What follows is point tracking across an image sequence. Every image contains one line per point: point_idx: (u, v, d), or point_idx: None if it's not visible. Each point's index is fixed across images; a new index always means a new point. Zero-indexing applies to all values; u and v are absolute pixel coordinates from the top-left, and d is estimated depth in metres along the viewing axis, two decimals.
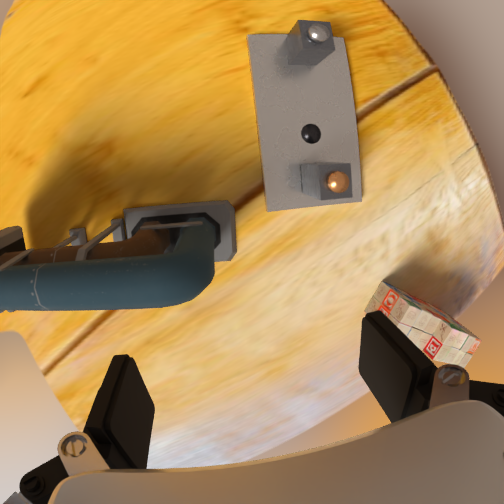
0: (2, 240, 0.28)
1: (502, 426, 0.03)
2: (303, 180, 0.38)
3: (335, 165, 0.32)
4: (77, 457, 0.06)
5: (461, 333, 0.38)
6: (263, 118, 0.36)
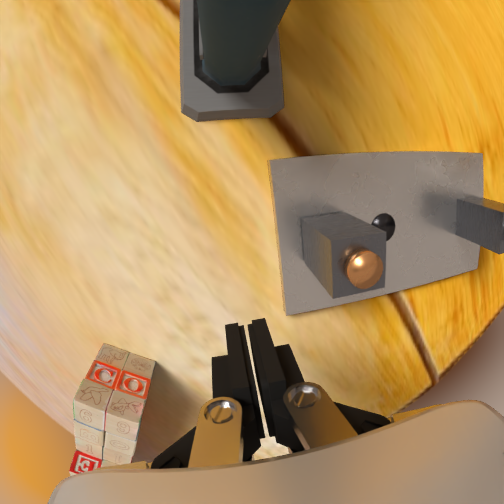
0: None
1: (502, 426, 0.03)
2: (324, 216, 0.24)
3: (383, 262, 0.19)
4: (215, 424, 0.07)
5: None
6: (401, 159, 0.24)
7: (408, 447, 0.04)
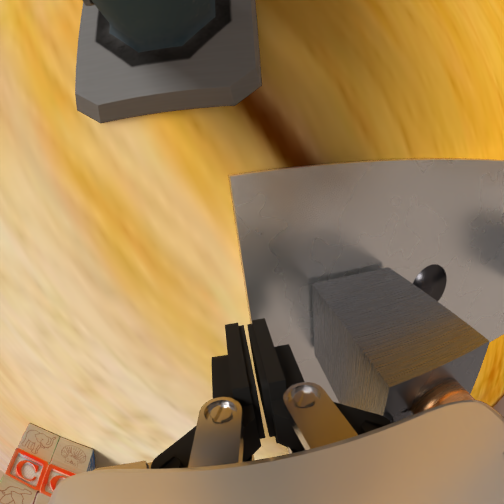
0: None
1: (502, 426, 0.03)
2: (353, 279, 0.13)
3: (469, 389, 0.07)
4: (215, 424, 0.07)
5: None
6: (463, 173, 0.13)
7: (408, 447, 0.04)
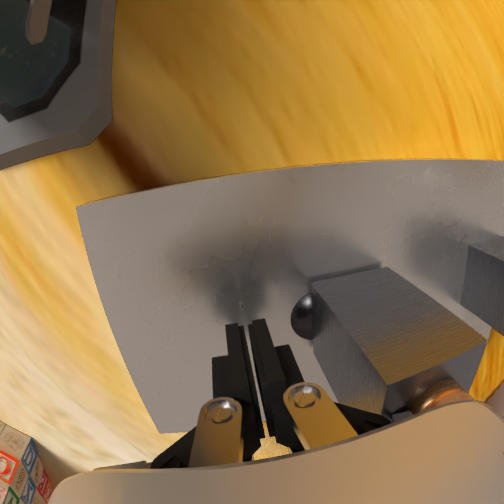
0: None
1: (502, 426, 0.03)
2: (352, 279, 0.13)
3: (467, 388, 0.07)
4: (216, 424, 0.07)
5: None
6: (361, 179, 0.12)
7: (408, 447, 0.04)
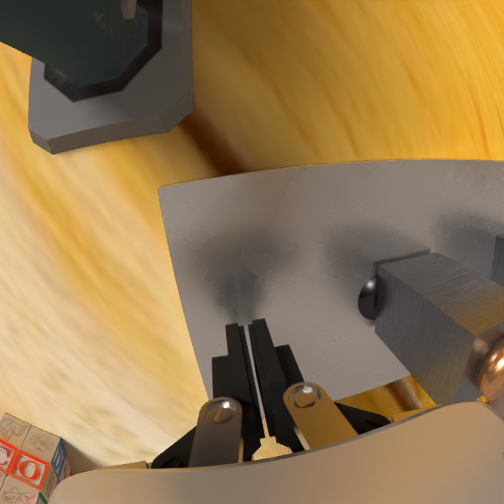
0: None
1: (502, 426, 0.03)
2: (413, 261, 0.14)
3: None
4: (215, 424, 0.07)
5: None
6: (419, 174, 0.13)
7: (408, 447, 0.04)
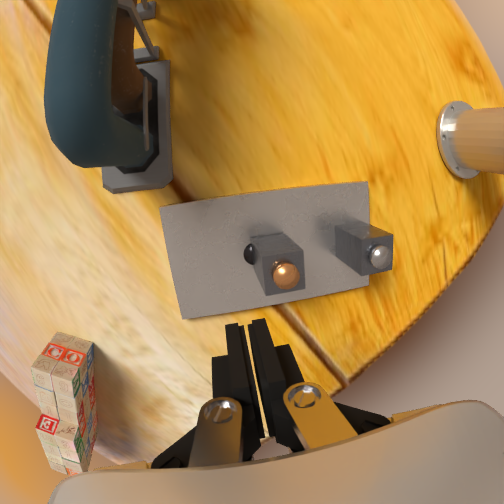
0: None
1: (502, 426, 0.03)
2: (267, 237, 0.34)
3: (303, 271, 0.29)
4: (216, 424, 0.07)
5: (76, 453, 0.28)
6: (270, 197, 0.33)
7: (408, 447, 0.04)
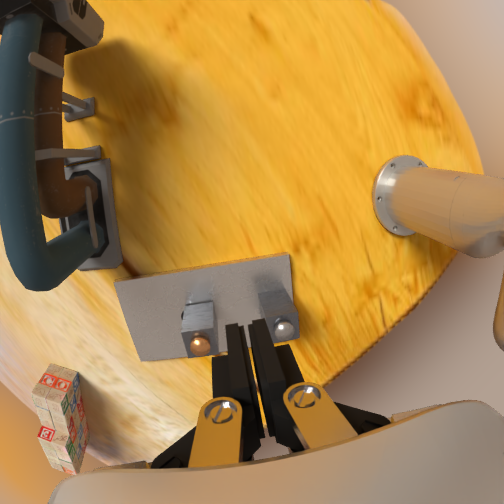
0: (79, 32, 0.22)
1: (502, 426, 0.03)
2: (197, 305, 0.41)
3: (215, 341, 0.35)
4: (215, 424, 0.07)
5: (68, 455, 0.36)
6: (198, 274, 0.40)
7: (408, 447, 0.04)
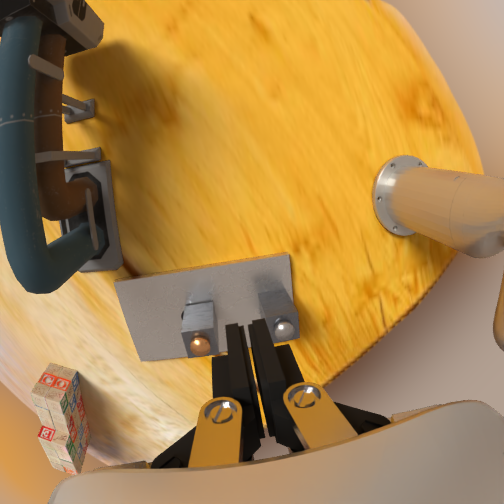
0: (78, 34, 0.22)
1: (502, 426, 0.03)
2: (197, 305, 0.41)
3: (215, 341, 0.35)
4: (216, 424, 0.07)
5: (68, 455, 0.36)
6: (198, 274, 0.40)
7: (408, 447, 0.04)
